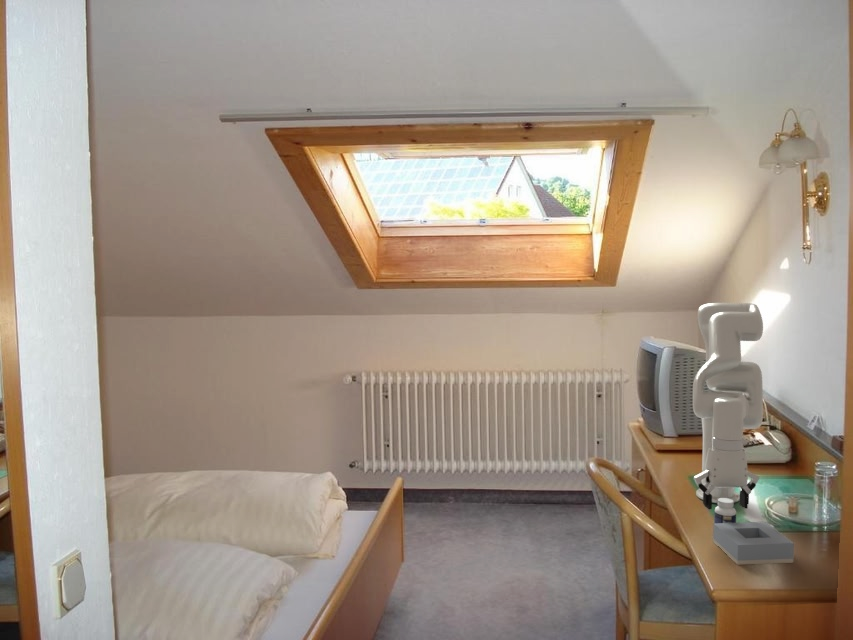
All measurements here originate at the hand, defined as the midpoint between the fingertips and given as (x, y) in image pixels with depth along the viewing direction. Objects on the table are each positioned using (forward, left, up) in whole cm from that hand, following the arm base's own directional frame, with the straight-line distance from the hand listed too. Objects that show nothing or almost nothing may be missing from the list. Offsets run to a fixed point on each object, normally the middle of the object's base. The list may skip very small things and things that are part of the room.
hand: (725, 507), depth 199 cm
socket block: (+10, +2, -8) cm, 13 cm away
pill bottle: (-1, 0, -8) cm, 8 cm away
